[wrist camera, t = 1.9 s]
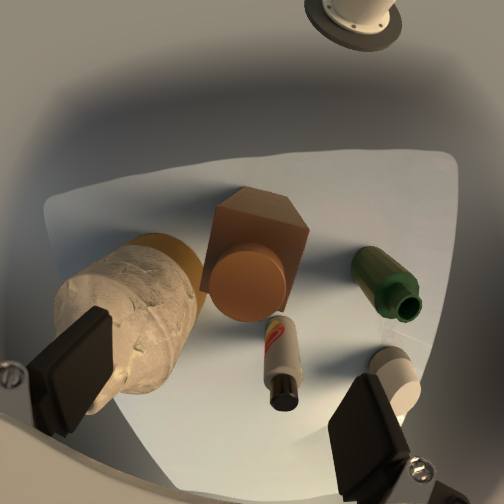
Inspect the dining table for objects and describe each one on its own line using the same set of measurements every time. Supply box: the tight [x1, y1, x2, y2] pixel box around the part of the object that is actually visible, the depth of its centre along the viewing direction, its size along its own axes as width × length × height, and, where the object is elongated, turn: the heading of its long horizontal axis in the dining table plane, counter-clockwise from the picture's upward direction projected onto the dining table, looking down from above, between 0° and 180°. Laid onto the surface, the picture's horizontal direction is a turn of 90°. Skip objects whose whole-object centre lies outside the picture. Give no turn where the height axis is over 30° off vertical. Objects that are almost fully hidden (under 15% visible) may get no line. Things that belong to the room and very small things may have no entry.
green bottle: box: [351, 246, 422, 323], centre depth 40 cm, size 7×7×17 cm
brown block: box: [199, 186, 310, 312], centre depth 34 cm, size 7×7×26 cm
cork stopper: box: [209, 242, 286, 322], centre depth 19 cm, size 5×5×5 cm
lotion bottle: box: [264, 316, 303, 412], centre depth 43 cm, size 6×6×20 cm
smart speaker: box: [369, 347, 421, 416], centre depth 47 cm, size 10×9×14 cm
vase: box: [52, 233, 207, 415], centre depth 36 cm, size 18×18×30 cm
